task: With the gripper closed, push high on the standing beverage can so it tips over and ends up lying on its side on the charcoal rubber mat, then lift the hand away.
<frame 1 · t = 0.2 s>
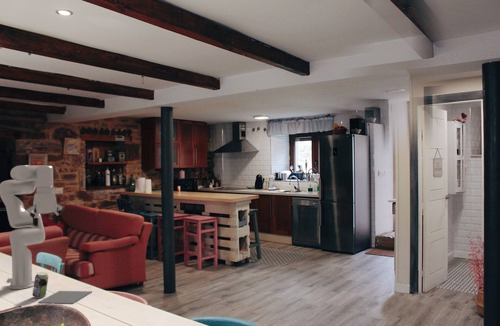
hand: (45, 224, 206), 36 cm above the table, tool pointing down, fingers open, 9 cm apart
beverage can: (40, 297, 208), on the table
rubber mat: (65, 297, 206), on the table
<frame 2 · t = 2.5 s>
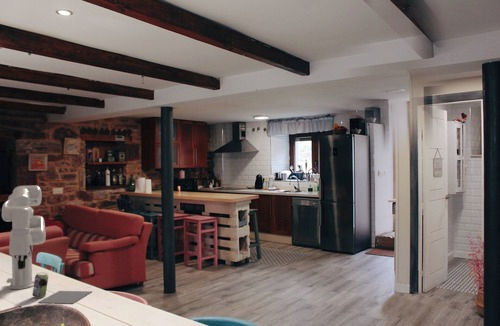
hand: (21, 268, 209), 14 cm above the table, tool pointing down, fingers closed
nothing on the table moved.
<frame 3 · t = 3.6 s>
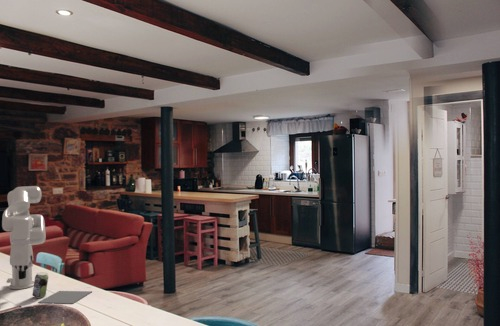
hand: (22, 278, 209), 9 cm above the table, tool pointing down, fingers closed
nothing on the table moved.
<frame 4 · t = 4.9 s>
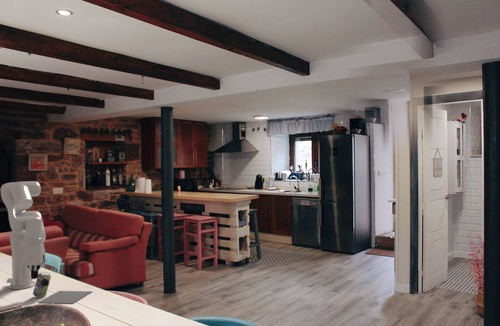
hand: (34, 278, 208), 9 cm above the table, tool pointing down, fingers closed
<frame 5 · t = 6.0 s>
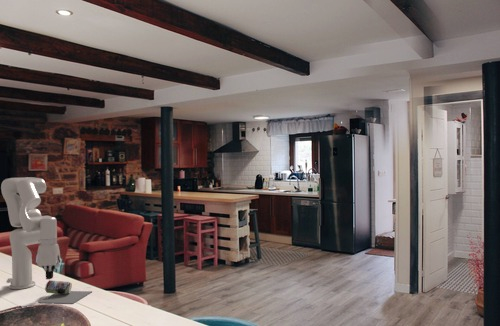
hand: (49, 278, 207), 9 cm above the table, tool pointing down, fingers closed
beverage can: (45, 288, 209), point 4 cm above the table, touching rubber mat
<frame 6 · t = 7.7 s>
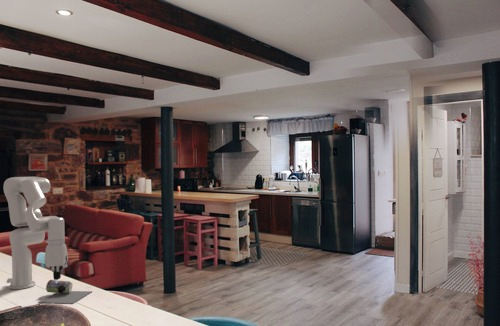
hand: (57, 279, 207), 9 cm above the table, tool pointing down, fingers closed
beverage can: (46, 287, 210), point 4 cm above the table, touching rubber mat
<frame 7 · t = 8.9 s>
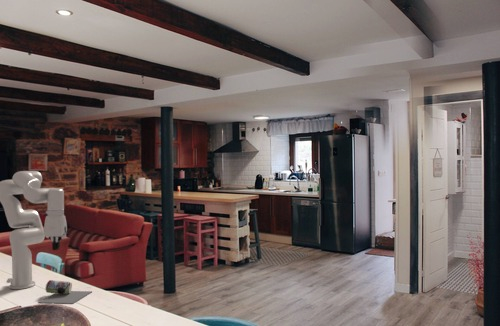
hand: (56, 249, 209), 23 cm above the table, tool pointing down, fingers closed
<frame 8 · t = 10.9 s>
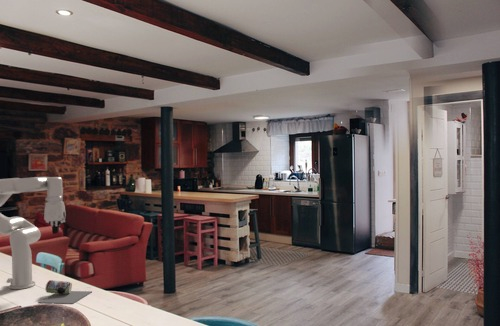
hand: (55, 233, 225), 29 cm above the table, tool pointing down, fingers closed
nothing on the table moved.
at the end: beverage can tilted 90°; beverage can inside the target area (7.5 cm from its centre), point 4.0 cm above the table; beverage can touching rubber mat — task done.
